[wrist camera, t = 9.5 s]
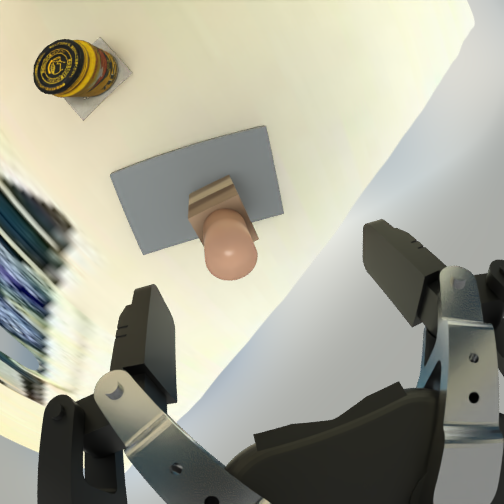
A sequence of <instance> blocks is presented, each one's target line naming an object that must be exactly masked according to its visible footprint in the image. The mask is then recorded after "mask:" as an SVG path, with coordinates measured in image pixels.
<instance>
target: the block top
mask: <svg viewBox="0 0 504 504" xmlns="http://www.w3.org/2000/svg"><path fill="white" fill-rule="evenodd" d="M218 209H232V210H235V211H237V212H238V213H239V214H240V215H241V216H242V217H243V219H244V221H245V223H246V226H247V228H248V230H249V233H250V235H251V238H252V240H253V242H254V241H256V240H258V239H259V238H258V236H257V234H256V231H255V229H254V227H253V225H252V223H251V220H250V218H249V216H248V214H247V212H246V210H245V208H244V206H243V203H242V201H241V199H240V197H239V195H238V193H237V191H236V189H235V186H234V184H231V185H229V186H227V187H225V188H223V189H221V190H218V191H216V192H214V193H212V194H210V195H208V196H206V197H204V198H202V199H200V200H198V201H196V202H194V203H192V204H190V205H189V207H188V220H189V222H190V223H191V225H192V227H193V229H194V230H195V232H196V234H197V236H198V237H199V239H200V241H201V242H202V244H203V246H204V239H203V224H204V221H205V219H206V218H207V217H208V216H209V215H210V214H211V213H212V212H214V211H216V210H218Z"/></svg>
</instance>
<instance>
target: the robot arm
mask: <svg viewBox="0 0 504 504" xmlns="http://www.w3.org/2000/svg"><path fill="white" fill-rule="evenodd" d="M363 263H364V266H365V269H366V270H367V272H368V273H369V274H370V276H371V277H372V278H373V279H374V280H375V282H376V283H377V284H378V285H379V286H380V288H381V289H382V290H383V291H384V293H385V294H386V295H387V296H388V297H389V299H390V300H391V301H392V302H393V304H394V305H395V306H396V307H397V309H398V310H399V311H400V312H401V314H402V315H403V316H404V318H405V319H406V320H407V321H408V323H409V324H410V325H411V326H412V327H414V326H416V325H418V324H420V323H422V322H423V323H424V325H425V328H424V333H423V348H422V361H421V371H420V376H419V380H418V383H417V386H416V388H408V389H403V387H402V386H401V384H400V383H399V382H396V383H394V384H392V385H390V386H388V387H386V388H384V389H382V390H380V391H378V392H375V393H373V394H371V395H369V396H367V397H365V398H364V399H363V400H362V401H360V402H359V403H357V404H356V405H354V406H353V407H352V408H350V409H349V410H347V411H346V412H345V413H343V414H342V415H340V416H339V417H337V418H335V419H333V420H328V421H320V422H310V423H299V424H290V425H287V426H284V427H281V428H277V429H273V430H269V431H265V432H262V433H258V434H254V439H255V444H253V445H251V446H249V447H247V448H246V449H244V450H243V451H241V452H240V453H239V454H238V455H236V456H235V457H234V458H233V459H232V460H231V461H230V462H229V463H228V465H227V466H225V465H223V464H222V463H221V462H220V461H218V460H217V459H216V458H215V457H214V456H212V455H211V454H210V453H209V452H207V451H206V450H205V449H204V448H203V447H202V446H200V445H199V444H198V443H197V442H196V441H195V440H194V439H193V438H192V437H191V436H189V435H188V434H187V433H186V432H185V431H184V430H183V429H182V428H181V427H180V426H179V425H178V424H177V423H176V422H175V421H174V420H173V419H172V418H171V417H170V416H169V415H168V414H167V404H171V403H177V388H176V360H175V325H174V321H173V318H172V315H171V313H170V311H169V309H168V307H167V305H166V303H165V302H164V300H163V298H162V296H161V294H160V292H159V290H158V288H157V286H156V285H155V284H152V285H148V286H145V287H141V288H138V289H135V291H134V295H133V300H132V304H131V305H127V306H126V307H125V309H124V310H123V312H122V313H121V315H120V317H119V321H118V326H117V328H118V330H117V332H116V339H115V342H114V348H113V354H112V360H111V366H110V372H108V373H106V374H105V375H103V376H102V377H101V378H100V380H99V381H98V382H97V384H96V386H95V389H94V394H92V395H90V396H87V397H85V398H83V399H81V400H79V401H77V402H75V401H74V400H73V399H71V398H70V397H69V396H67V395H58V396H56V397H54V398H53V399H52V400H51V401H50V402H49V403H48V405H47V406H46V408H45V412H44V417H43V424H42V431H41V440H40V450H39V463H38V491H37V494H38V495H37V497H38V504H127V496H126V487H125V475H124V462H123V449H124V452H125V454H126V456H127V457H128V459H129V460H130V461H131V463H132V464H133V465H134V467H135V468H136V469H137V470H138V471H139V473H140V474H141V475H142V476H143V478H144V479H145V480H146V481H147V482H148V483H149V485H150V486H151V487H152V488H153V489H154V490H155V491H156V492H157V493H158V495H159V496H160V497H161V498H162V499H163V500H164V501H165V502H166V503H167V504H504V414H502V413H499V377H498V369H499V370H500V372H501V373H502V375H503V376H504V318H503V317H504V260H495V261H493V262H492V263H491V264H490V267H489V270H488V273H486V274H479V275H473V274H472V273H471V272H470V271H469V270H467V269H465V268H463V267H460V266H448V267H447V266H446V265H444V264H443V263H442V262H441V261H440V260H439V259H438V258H437V257H436V256H435V255H433V254H432V253H431V252H430V251H429V250H428V249H427V248H425V247H423V245H422V244H421V243H420V242H418V241H416V239H415V238H414V237H412V236H411V235H410V234H409V233H407V232H405V231H402V230H400V229H398V228H393V227H392V226H391V225H389V223H387V222H386V221H385V220H383V219H381V220H377V221H374V222H370V223H367V224H365V225H364V227H363ZM83 451H84V452H85V479H84V476H83Z"/></svg>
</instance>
